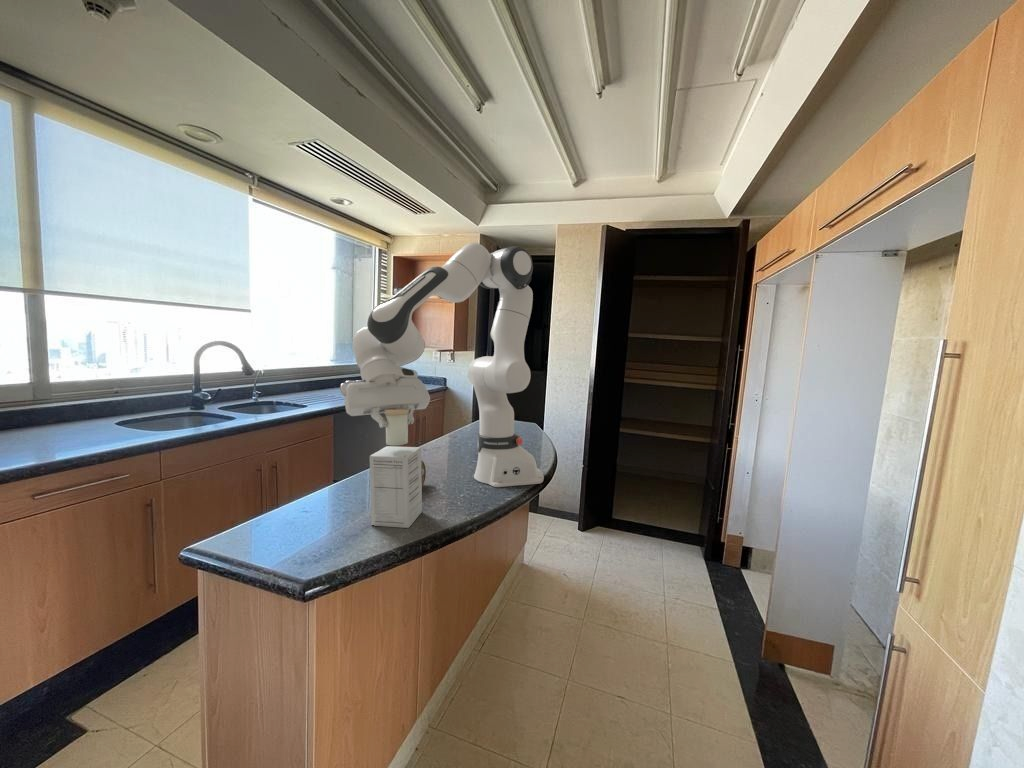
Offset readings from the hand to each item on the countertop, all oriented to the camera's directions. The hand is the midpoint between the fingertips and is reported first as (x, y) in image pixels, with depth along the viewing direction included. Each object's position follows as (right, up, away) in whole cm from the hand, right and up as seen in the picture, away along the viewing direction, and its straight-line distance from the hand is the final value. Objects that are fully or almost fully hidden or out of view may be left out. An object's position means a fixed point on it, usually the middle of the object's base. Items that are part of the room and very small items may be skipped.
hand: (397, 424), depth 89 cm
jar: (0, -5, +1) cm, 5 cm away
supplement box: (-1, -23, +3) cm, 24 cm away
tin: (-2, -22, +20) cm, 29 cm away
